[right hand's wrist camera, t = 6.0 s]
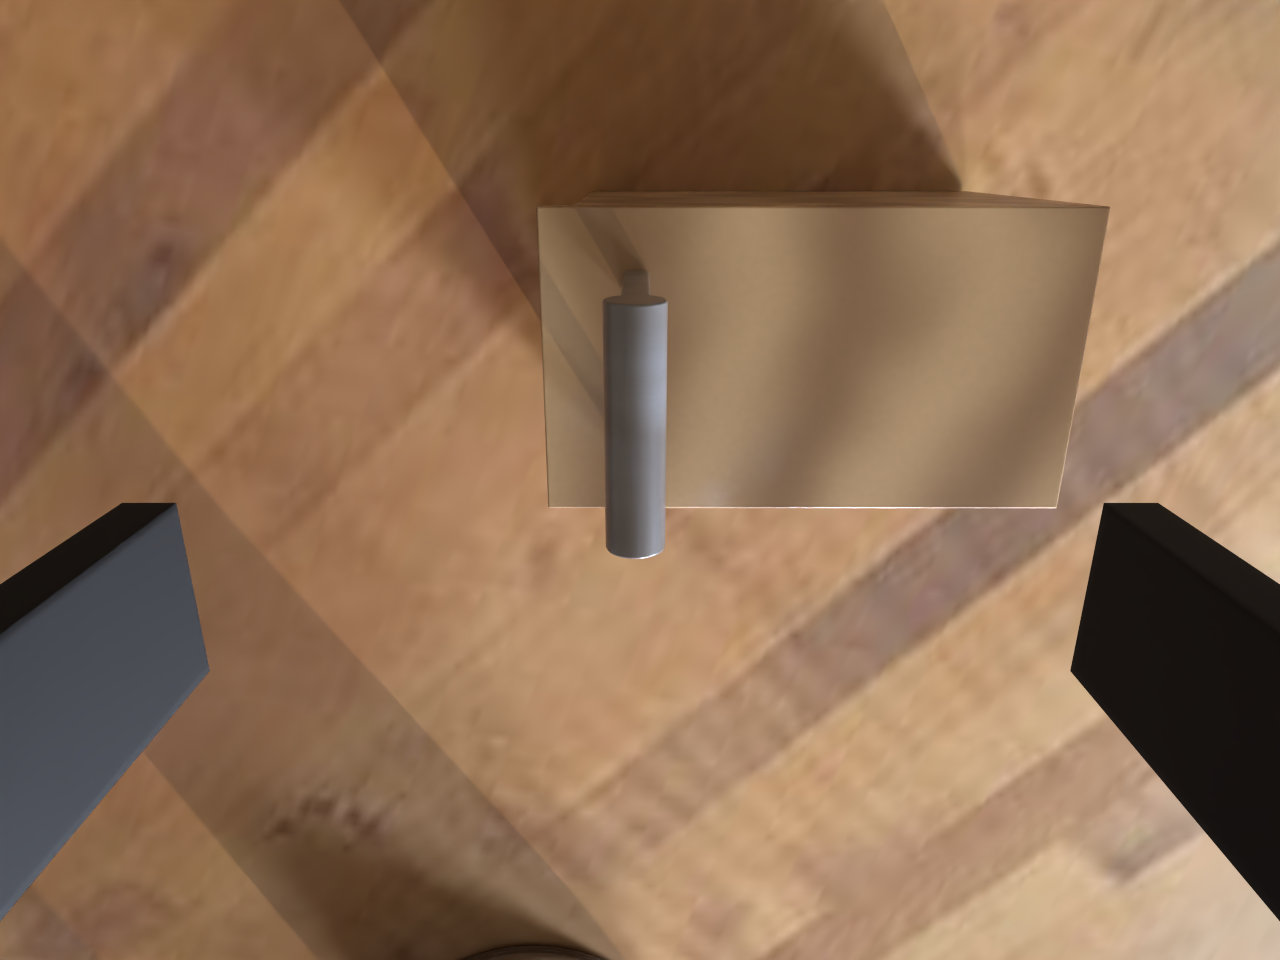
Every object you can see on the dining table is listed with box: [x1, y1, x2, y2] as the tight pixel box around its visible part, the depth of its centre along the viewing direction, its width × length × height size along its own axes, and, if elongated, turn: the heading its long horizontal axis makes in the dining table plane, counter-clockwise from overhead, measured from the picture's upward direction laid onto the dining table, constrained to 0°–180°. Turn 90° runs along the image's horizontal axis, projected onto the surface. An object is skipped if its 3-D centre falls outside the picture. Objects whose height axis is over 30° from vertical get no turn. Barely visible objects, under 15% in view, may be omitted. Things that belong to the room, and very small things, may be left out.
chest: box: [574, 191, 1089, 205], centre depth 32 cm, size 15×9×10 cm, turn 90°
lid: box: [537, 205, 1110, 559], centre depth 23 cm, size 16×9×8 cm, turn 90°
